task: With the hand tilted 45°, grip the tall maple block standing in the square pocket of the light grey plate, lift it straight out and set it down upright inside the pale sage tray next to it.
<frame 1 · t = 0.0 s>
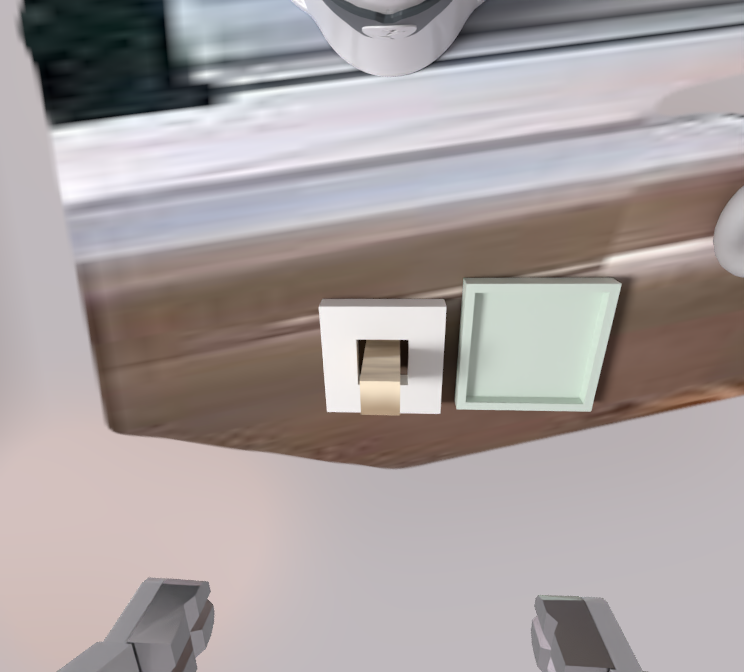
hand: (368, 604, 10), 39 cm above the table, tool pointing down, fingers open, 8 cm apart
tray: (527, 343, 49), on the table
maple block: (381, 373, 47), in the pocket plate
pocket plate: (383, 353, 51), on the table
donut: (726, 214, 42), on the table
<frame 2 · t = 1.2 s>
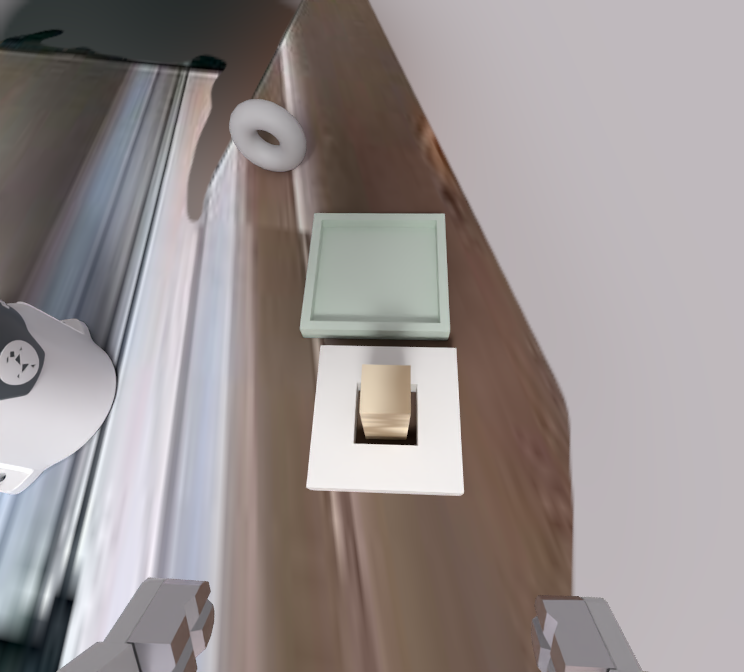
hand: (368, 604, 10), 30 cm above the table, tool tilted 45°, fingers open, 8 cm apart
tray: (377, 278, 50), on the table
maple block: (386, 405, 38), in the pocket plate
pocket plate: (386, 419, 42), on the table
donut: (278, 169, 59), on the table
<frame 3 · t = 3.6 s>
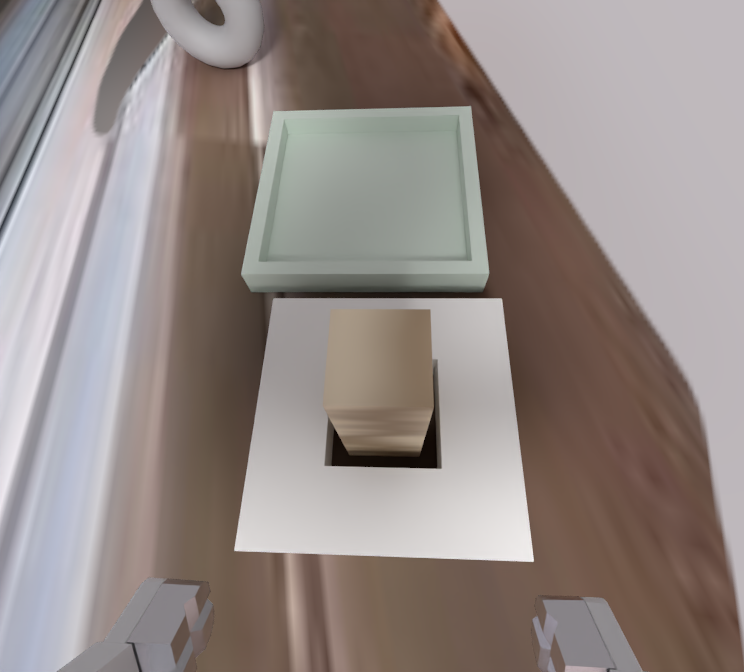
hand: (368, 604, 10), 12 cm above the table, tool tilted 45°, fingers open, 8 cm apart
tray: (369, 203, 32), on the table
maple block: (382, 395, 20), in the pocket plate
pocket plate: (384, 421, 25), on the table
donut: (228, 68, 41), on the table
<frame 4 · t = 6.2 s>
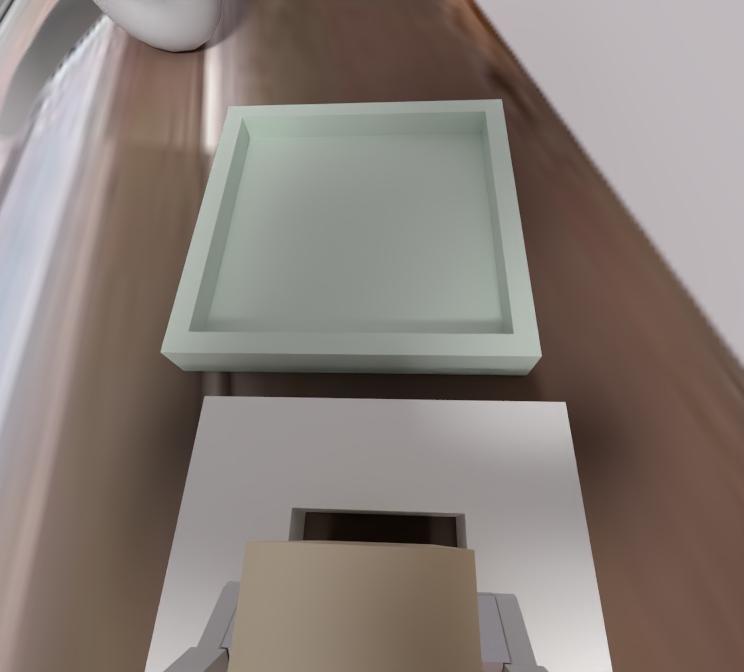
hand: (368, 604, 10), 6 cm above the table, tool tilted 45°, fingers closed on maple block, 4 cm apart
tray: (359, 236, 23), on the table
maple block: (370, 628, 11), in the pocket plate, touching gripper
pocket plate: (377, 602, 15), on the table
donut: (181, 51, 32), on the table
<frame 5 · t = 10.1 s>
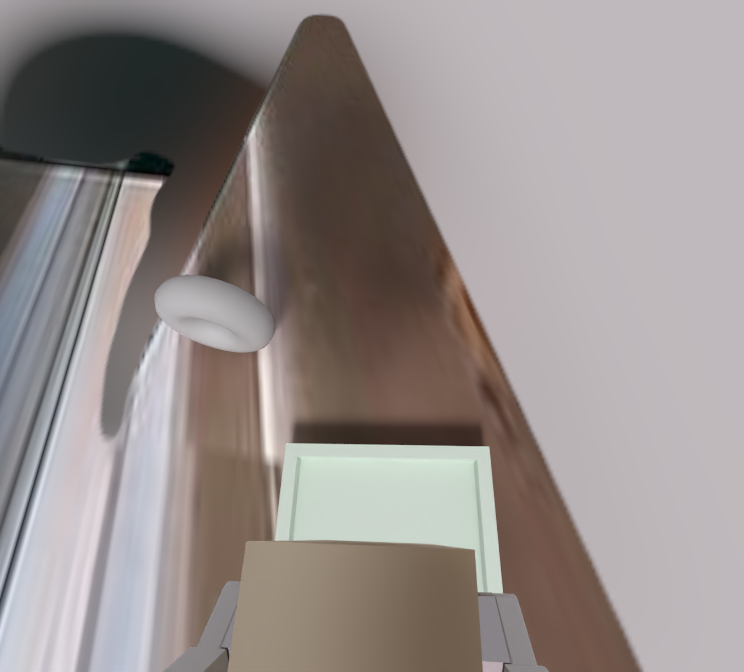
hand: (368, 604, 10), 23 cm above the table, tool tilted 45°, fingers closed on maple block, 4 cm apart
tray: (385, 558, 31), on the table
maple block: (370, 628, 11), point 22 cm above the table, touching gripper
donut: (237, 342, 40), on the table
when the fingers open (8 cm above the table, at t = 14.2 s): maple block drops 2 cm, resting on tray.
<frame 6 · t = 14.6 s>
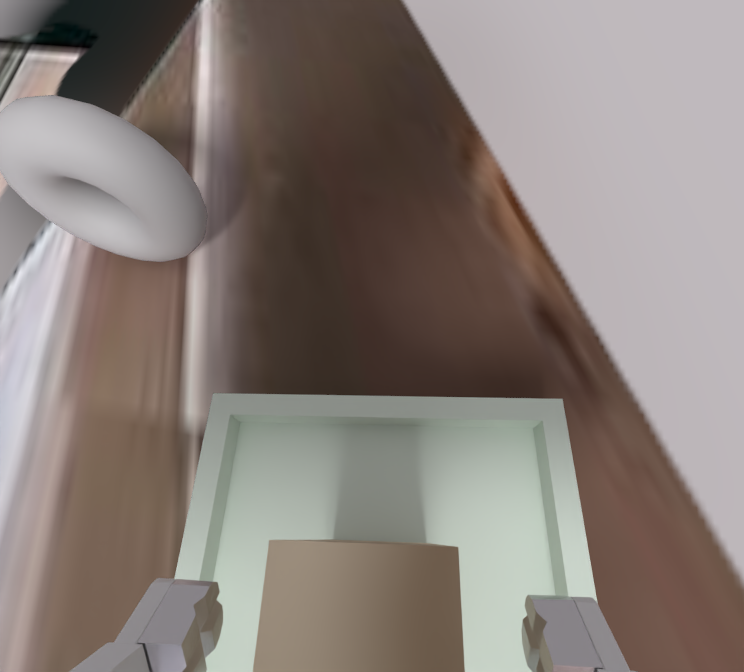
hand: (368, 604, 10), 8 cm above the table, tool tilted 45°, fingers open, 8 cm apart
tray: (380, 594, 18), on the table
maple block: (371, 616, 12), in the tray, point 6 cm above the table
donut: (159, 252, 27), on the table
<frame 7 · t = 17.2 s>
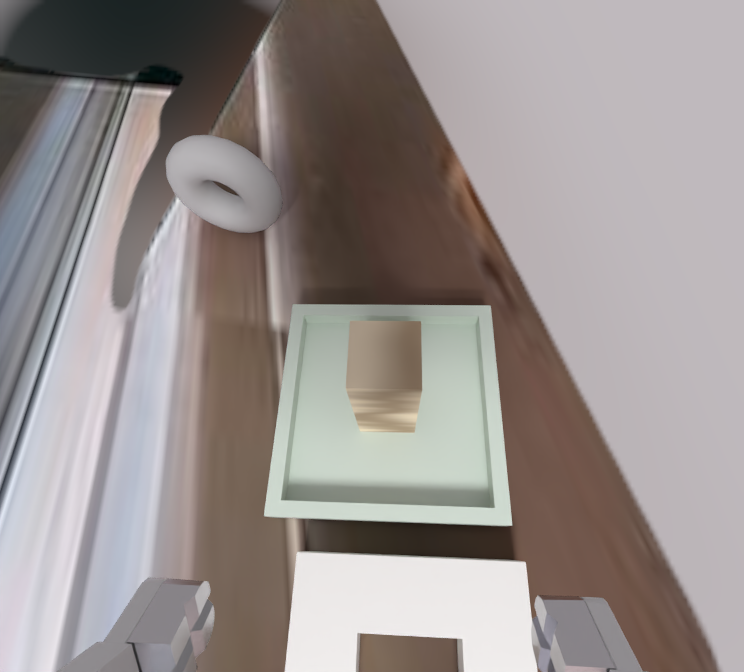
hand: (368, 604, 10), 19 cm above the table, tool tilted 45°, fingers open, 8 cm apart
tray: (388, 408, 32), on the table
maple block: (386, 383, 27), in the tray, point 6 cm above the table
donut: (245, 228, 41), on the table
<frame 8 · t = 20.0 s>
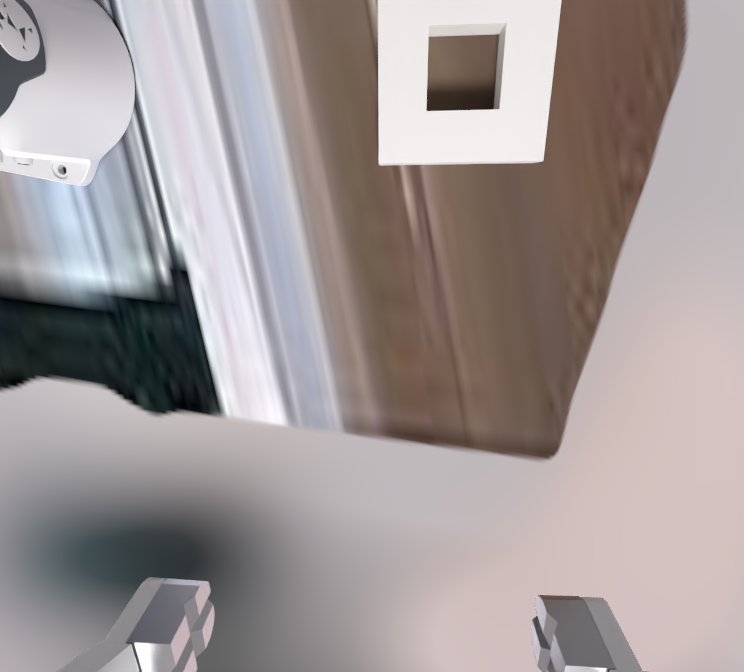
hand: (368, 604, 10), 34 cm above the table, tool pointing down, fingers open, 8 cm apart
pocket plate: (460, 76, 36), on the table
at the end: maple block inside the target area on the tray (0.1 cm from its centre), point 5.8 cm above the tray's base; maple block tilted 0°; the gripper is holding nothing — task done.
